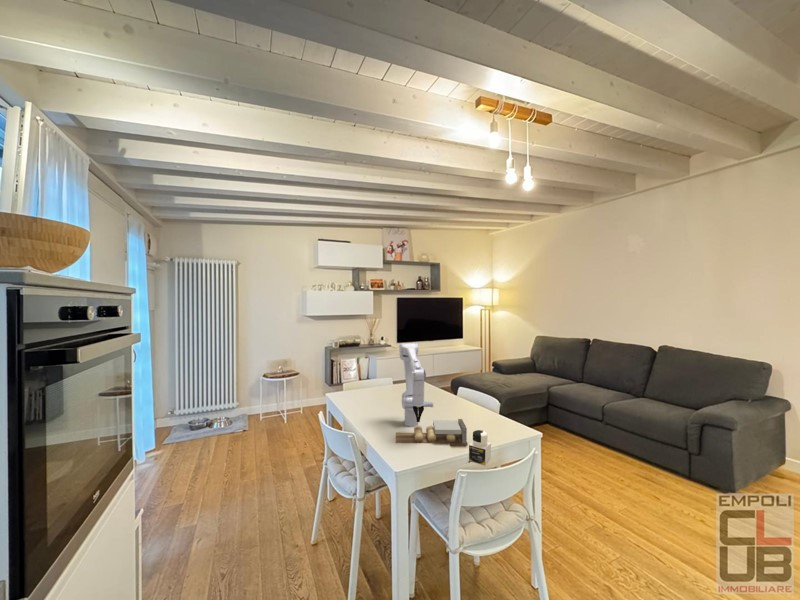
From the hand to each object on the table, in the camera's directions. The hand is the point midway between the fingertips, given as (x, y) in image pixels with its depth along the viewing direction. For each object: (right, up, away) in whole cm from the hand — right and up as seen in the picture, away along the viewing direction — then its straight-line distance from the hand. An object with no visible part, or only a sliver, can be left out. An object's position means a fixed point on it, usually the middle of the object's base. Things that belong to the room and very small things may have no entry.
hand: (418, 421), depth 164 cm
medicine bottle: (+25, -8, -23) cm, 35 cm away
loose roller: (+14, -7, -3) cm, 16 cm away
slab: (+14, -3, -3) cm, 14 cm away
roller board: (+6, -8, -3) cm, 10 cm away
